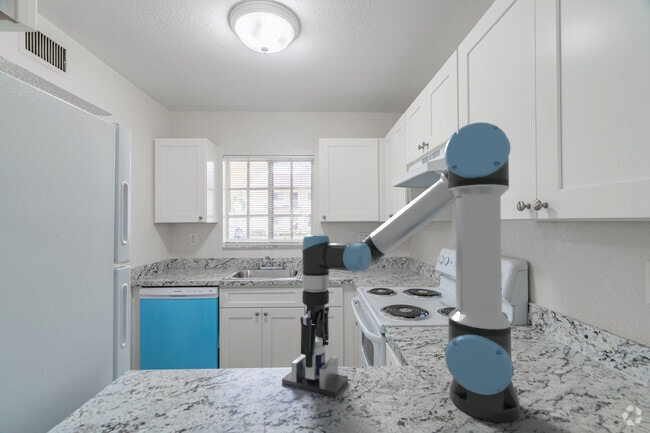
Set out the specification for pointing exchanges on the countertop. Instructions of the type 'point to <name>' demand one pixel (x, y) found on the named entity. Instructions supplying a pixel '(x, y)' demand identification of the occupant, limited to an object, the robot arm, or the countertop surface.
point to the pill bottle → (319, 355)
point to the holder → (325, 385)
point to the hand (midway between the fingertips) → (315, 373)
